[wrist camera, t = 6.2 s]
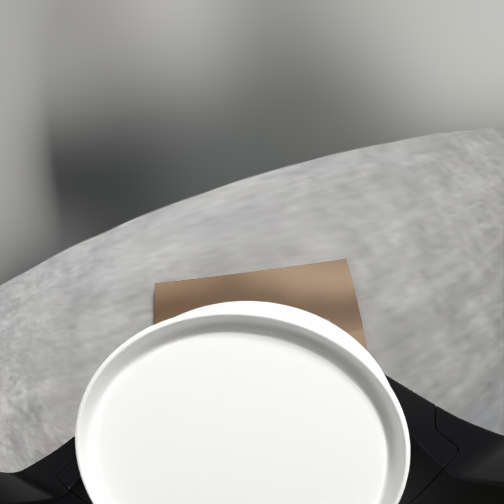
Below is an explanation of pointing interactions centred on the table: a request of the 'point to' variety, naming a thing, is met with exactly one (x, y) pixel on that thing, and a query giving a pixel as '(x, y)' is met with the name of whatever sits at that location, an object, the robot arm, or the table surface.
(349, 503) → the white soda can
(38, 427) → the table surface
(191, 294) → the brown slab
